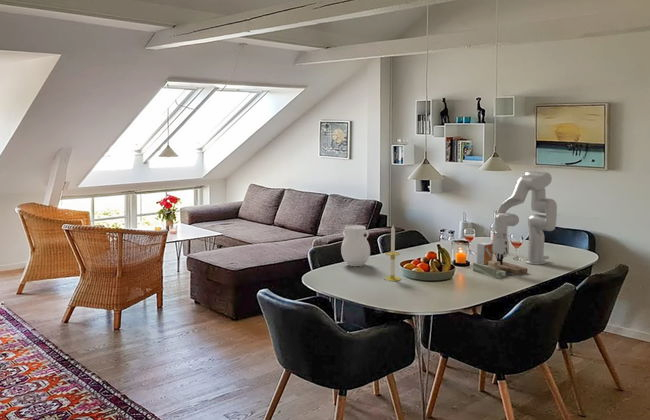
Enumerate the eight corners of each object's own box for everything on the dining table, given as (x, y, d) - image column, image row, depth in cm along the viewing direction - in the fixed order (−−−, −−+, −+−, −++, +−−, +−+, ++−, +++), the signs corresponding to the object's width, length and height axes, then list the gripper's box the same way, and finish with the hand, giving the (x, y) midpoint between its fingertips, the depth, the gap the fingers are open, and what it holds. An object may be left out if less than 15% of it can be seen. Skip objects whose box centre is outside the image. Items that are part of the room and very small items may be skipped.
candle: (396, 282, 369) (397, 226, 364) (380, 279, 374) (381, 224, 369) (403, 278, 377) (404, 223, 372) (388, 276, 382) (389, 222, 378)
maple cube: (494, 266, 392) (494, 260, 391) (500, 268, 388) (500, 262, 387) (488, 267, 390) (488, 261, 389) (493, 269, 385) (493, 262, 385)
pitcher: (336, 267, 405) (336, 228, 402) (346, 261, 422) (346, 223, 419) (364, 269, 398) (364, 230, 395) (373, 263, 415) (374, 225, 412)
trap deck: (504, 266, 405) (504, 258, 405) (527, 273, 388) (527, 265, 387) (472, 270, 394) (473, 262, 394) (494, 278, 377) (495, 269, 376)
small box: (483, 264, 410) (484, 244, 408) (476, 263, 415) (477, 243, 413) (492, 263, 414) (493, 243, 412) (485, 261, 420) (485, 241, 418)
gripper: (514, 236, 382) (512, 266, 385) (497, 232, 396) (496, 261, 398) (504, 237, 379) (503, 268, 382) (487, 233, 392) (486, 263, 395)
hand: (499, 264), depth 390 cm, fingers closed
